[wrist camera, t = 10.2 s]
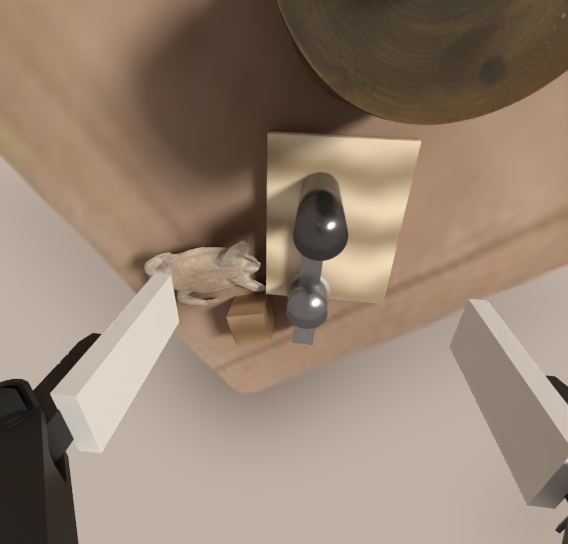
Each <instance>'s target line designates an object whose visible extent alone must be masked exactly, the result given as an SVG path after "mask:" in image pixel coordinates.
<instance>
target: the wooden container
mask: <svg viewBox="0 0 568 544" xmlns="http://www.w3.org/2000/svg"><path fill="white" fill-rule="evenodd" d="M276 2H277V5H278V8H279V11H280V14H281V16H282V19H283V22H284V24H285V26H286V28H287V31H288V33H289V35H290V37H291V39H292V41H293V44H294V46H295V49H296V51H297V53H298V55H299V57H300V59H301V61H302V62H303V64H304V66H305V67H306V69H307V70H308V72H309V73H310V75H311V76H312V77H313V78H314V80H315V81H316V82H317V83H318V84H319V85H320V86H321V87H323V88H324V89H325V90H326V91H327V92H329V93H330V94H331V95H333V96H335V97H336V98H338V99H340V100H342V101H344V102H347V103H349V104H350V105H352V106H354V107H356V108H357V109H359V110H362V111H364V112H366V113H368V114H371V115H373V116H376V117H380V118H383V119H387V120H391V121H395V122H401V123H408V124H420V125H436V124H446V123H452V122H459V121H464V120H468V119H473V118H477V117H480V116H483V115H486V114H489V113H492V112H495V111H497V110H500V109H502V108H504V107H507V106H509V105H511V104H513V103H515V102H518V101H520V100H522V99H524V98H526V97H527V96H529V95H531V94H533V93H534V92H536V91H538V90H539V89H541V88H543V87H544V86H546V85H547V84H549V83H550V82H552V81H553V80H555V79H556V78H558V77H559V76H560V75H562V74H563V73H565V72H566V71H567V70H568V0H276Z"/></svg>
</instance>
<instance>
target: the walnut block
mask: <svg viewBox="0 0 568 544" xmlns="http://www.w3.org/2000/svg"><path fill="white" fill-rule="evenodd" d="M226 318H227V321H228V324H229V327H230V330H231V332H232V335H233V338H234V341H235V344H236V346H238V345H250V344H262V343H271V339H272V334H273V329H274V323H275V318H274V314H273V310H272V307H271V303H270V299H269V295H268V294H266V293H261V294H252V295H244V296H235V297H234V299H233V302H232V304H231V307H230V309H229V312H228V314H227V317H226Z"/></svg>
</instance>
